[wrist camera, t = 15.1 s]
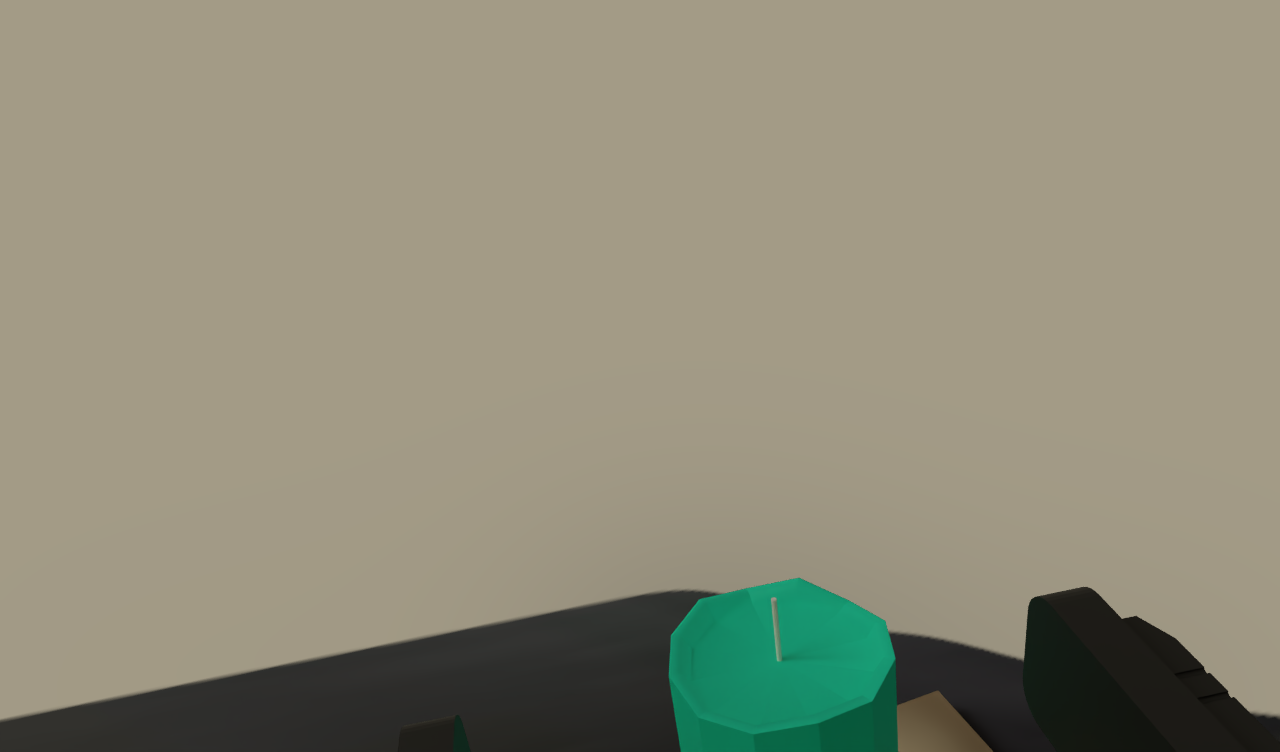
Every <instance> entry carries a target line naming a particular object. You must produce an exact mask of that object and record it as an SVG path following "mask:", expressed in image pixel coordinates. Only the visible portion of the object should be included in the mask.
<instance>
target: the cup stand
mask: <svg viewBox="0 0 1280 752" xmlns="http://www.w3.org/2000/svg"><path fill="white" fill-rule="evenodd" d="M897 727H898V752H993V751H992V750H991V749H990V748H989V746H988V745H987V744H986V743H985V742H984V741H983V740H982V739H981V738H980V736H979V735H978V734H977V733H976V732H975V731H974V730H973V729H972V728H971V727H970V725H969V724H968V723H967V722H966V721H965V720H964V719H963V718H962V717H961V715H960V714H959V713H958V712H957V711H956V710H955V709H954V708H953V707H952V706H951V704H950V703H949V702H948V701H947V700H946V699H945V698H944V697H943V696H942V694H941V693H940V692H939V691H935V692H932V693H930V694H927V695H924V696H921V697H919V698H916V699H913V700H911V701H908V702H905V703H903V704H900V705H897Z"/></svg>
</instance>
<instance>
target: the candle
mask: <svg viewBox="0 0 1280 752" xmlns="http://www.w3.org/2000/svg"><path fill="white" fill-rule="evenodd" d="M669 681H670V687H671V693H672V699H673V706H674V712H675V718H676V724H677V731H678V737H679V743H680V749H681V752H898V727H897V694H896V661H895V655H894V651H893V648H892V644H891V640H890V637H889V633H888V629H887V626H886V622H885V620H883V619H881V618H879V617H878V616H876V615H874V614H872V613H870V612H869V611H867V610H865V609H863V608H861V607H860V606H858V605H856V604H854V603H853V602H851V601H849V600H847V599H844V598H842V597H840V596H838V595H836V594H834V593H831V592H829V591H827V590H825V589H822V588H820V587H818V586H816V585H814V584H812V583H809V582H807V581H805V580H803V579H801V578H796V579H790V580H785V581H781V582H775V583H771V584H766V585H761V586H756V587H751V588H746V589H742V590H737V591H733V592H729V593H724V594H720V595H716V596H712V597H707V598H703V599H699V601H698V602H697V603H696V604H695V606H694V607H693V608H692V609H691V611H690V612H689V613H688V615H687V616H686V617H685V618H684V620H683V621H682V622H681V623H680V625H679V626H678V627H677V628H676V630H675V631H674V632H673V633H672V635H671V647H670V664H669Z"/></svg>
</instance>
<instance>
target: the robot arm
mask: <svg viewBox="0 0 1280 752" xmlns="http://www.w3.org/2000/svg"><path fill="white" fill-rule="evenodd" d="M1023 686H1024V692H1025V696H1026V699H1027V703H1028V705H1029V708H1030V710H1031V713H1032V715H1033V717H1034V719H1035V720H1036V722H1037V724H1038V725H1039V727H1040V728H1041V730H1042V731H1043V732H1044V734H1045V735H1046V737H1047V738H1048V739H1049V741H1050V742H1051V744H1052V745H1053V746H1054V748H1055V749H1056V751H1057V752H1280V743H1279V742H1278V741H1277V740H1276V739H1275V738H1274V737H1273V736H1272V735H1271V734H1270V733H1269V732H1268V731H1267V730H1266V729H1265V728H1264V727H1263V726H1262V725H1261V724H1260V723H1259V722H1258V721H1257V720H1256V719H1255V718H1254V717H1253V716H1252V715H1251V714H1250V713H1249V712H1248V711H1247V710H1246V709H1245V708H1244V707H1243V706H1242V705H1241V704H1240V703H1239V702H1238V701H1237V700H1236V699H1235V698H1234V697H1233V698H1231V697H1230V696H1229V694H1228V691H1227V690H1226V689H1225V688H1224V686H1222V684H1220V682H1218V680H1216V679H1215V678H1214V676H1212V674H1210V673H1208V674H1207V673H1206V672H1205V670H1204V666H1202V664H1201V663H1200V662H1199V661H1198V660H1197V659H1196V658H1194V656H1192V654H1191V653H1190V652H1189V651H1188V650H1187V649H1185V647H1184V646H1183V645H1181V644H1180V642H1179V641H1178V640H1177V639H1175V638H1174V637H1172V636H1170V635H1169V634H1167V633H1165V632H1163V631H1161V630H1160V629H1158V628H1156V627H1155V626H1152V625H1151V624H1149V623H1147V622H1146V621H1144V620H1142V619H1140V618H1139V617H1137V616H1134V617H1129V618H1124V619H1121V617H1120V616H1119V615H1118V614H1117V613H1116V612H1115V611H1114V610H1113V609H1112V608H1111V607H1110V606H1109V605H1108V604H1107V603H1106V602H1105V601H1104V600H1103V599H1102V597H1101V596H1100V595H1099V594H1097V593H1096V592H1095V591H1094V590H1092V589H1091V588H1088V587H1081V588H1076V589H1071V590H1066V591H1062V592H1057V593H1052V594H1047V595H1043V596H1037V597H1034V598H1033V599H1031V601H1030V603H1029V607H1028V617H1027V630H1026V643H1025V656H1024V669H1023ZM398 752H471V751H470V748H469V744H468V741H467V737H466V734H465V730H464V727H463V724H462V721H461V718H460V717H459V715H454V716H449V717H444V718H439V719H434V720H430V721H425V722H420V723H415V724H410V725H405V726H403V727H402V729H401V732H400V737H399V746H398Z"/></svg>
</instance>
